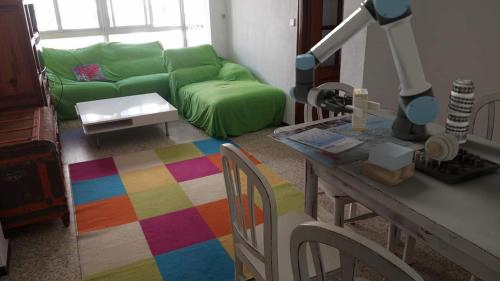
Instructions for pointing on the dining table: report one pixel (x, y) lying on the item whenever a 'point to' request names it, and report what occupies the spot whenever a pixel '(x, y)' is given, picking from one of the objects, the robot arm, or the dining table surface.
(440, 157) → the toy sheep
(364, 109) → the supplement box
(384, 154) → the tower top block
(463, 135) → the decorative candle
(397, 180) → the tower base block
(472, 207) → the dining table surface
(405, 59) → the robot arm
